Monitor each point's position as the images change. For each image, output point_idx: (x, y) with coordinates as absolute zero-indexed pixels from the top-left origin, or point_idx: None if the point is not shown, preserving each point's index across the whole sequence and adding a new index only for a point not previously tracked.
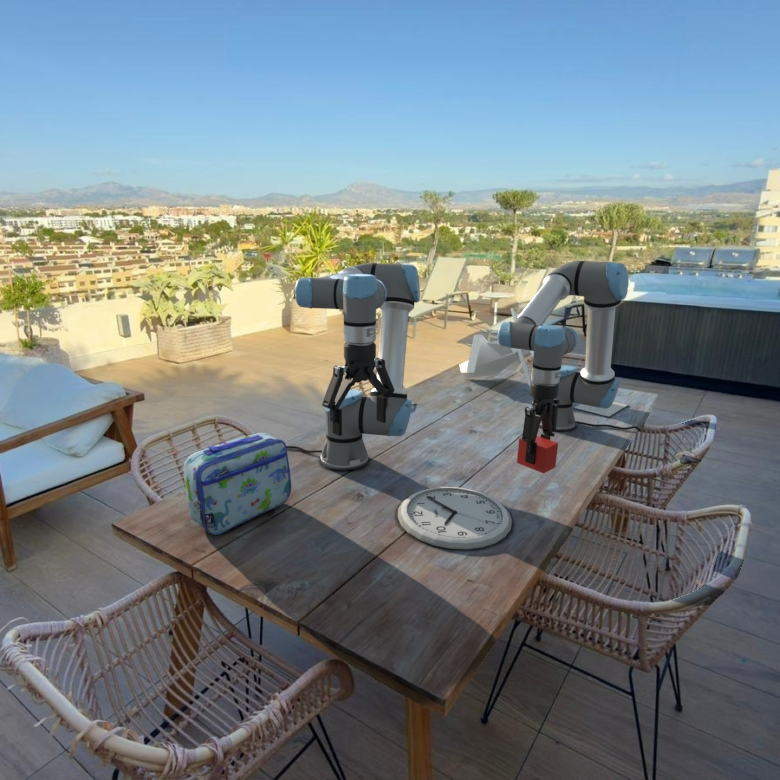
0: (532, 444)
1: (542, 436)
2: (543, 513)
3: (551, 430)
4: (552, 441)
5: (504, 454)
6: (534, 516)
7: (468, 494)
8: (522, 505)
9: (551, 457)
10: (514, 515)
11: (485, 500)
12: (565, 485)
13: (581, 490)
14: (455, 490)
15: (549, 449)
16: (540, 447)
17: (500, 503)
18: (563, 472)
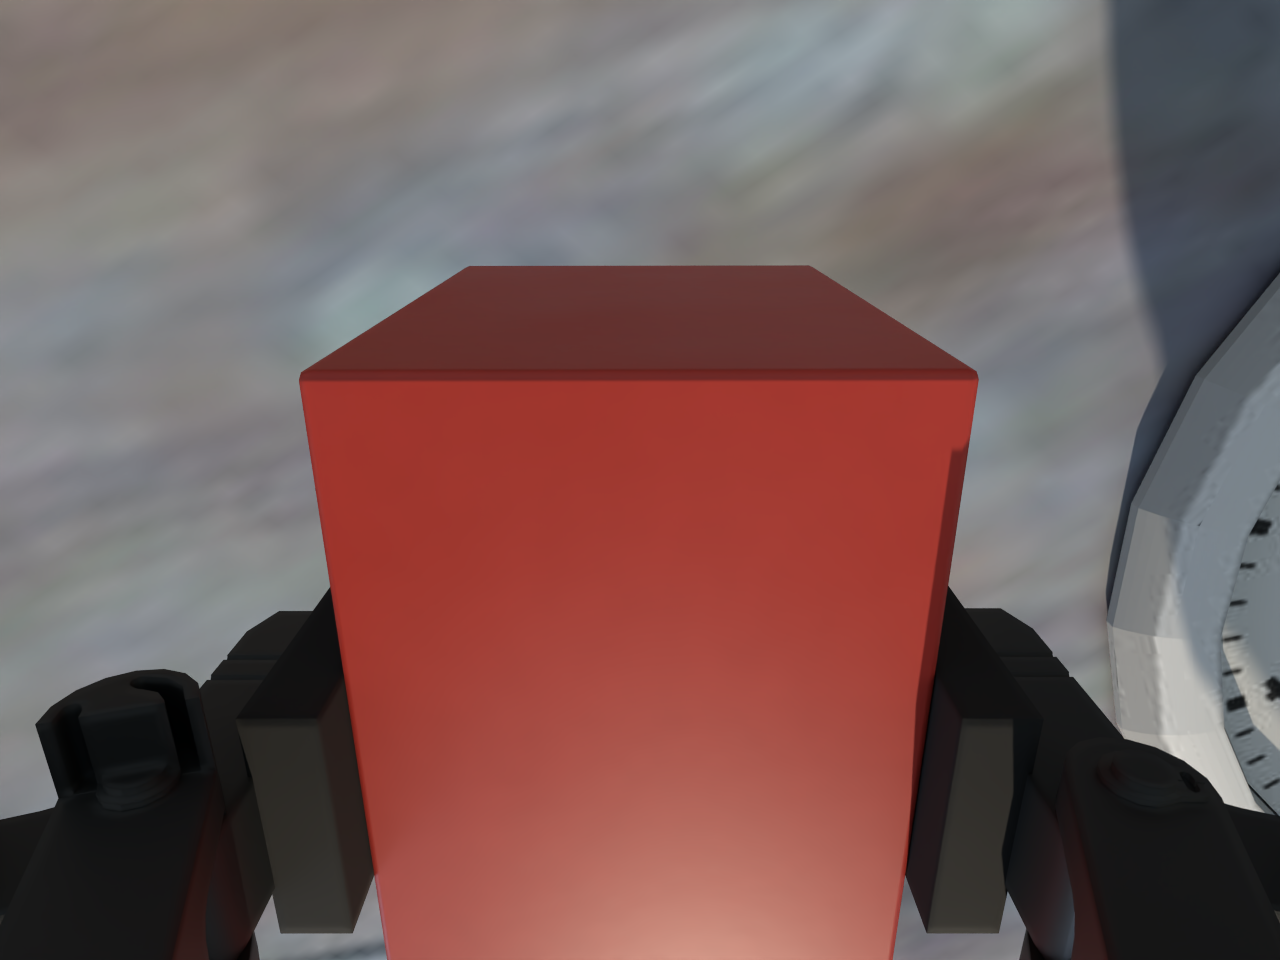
0: (1051, 743)
1: (360, 855)
2: (1029, 12)
3: (69, 883)
4: (366, 541)
5: (265, 934)
6: (1156, 44)
7: (1245, 692)
8: (1020, 275)
9: (628, 301)
10: (1268, 206)
11: (1258, 536)
12: (263, 223)
13: (197, 19)
14: (1255, 793)
15: (781, 353)
16: (948, 546)
17: (1241, 406)
18: (33, 410)
